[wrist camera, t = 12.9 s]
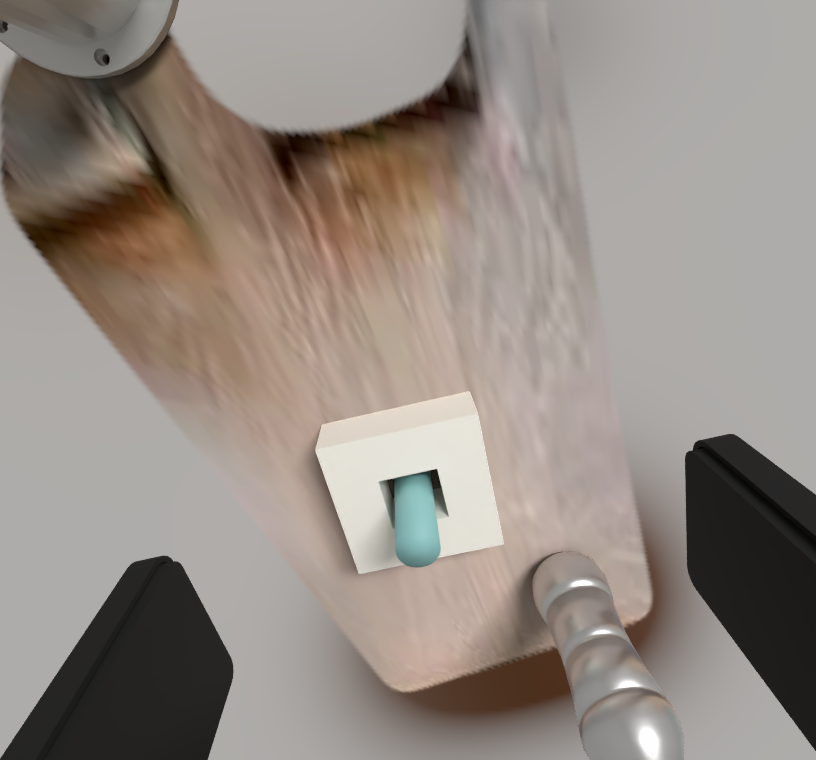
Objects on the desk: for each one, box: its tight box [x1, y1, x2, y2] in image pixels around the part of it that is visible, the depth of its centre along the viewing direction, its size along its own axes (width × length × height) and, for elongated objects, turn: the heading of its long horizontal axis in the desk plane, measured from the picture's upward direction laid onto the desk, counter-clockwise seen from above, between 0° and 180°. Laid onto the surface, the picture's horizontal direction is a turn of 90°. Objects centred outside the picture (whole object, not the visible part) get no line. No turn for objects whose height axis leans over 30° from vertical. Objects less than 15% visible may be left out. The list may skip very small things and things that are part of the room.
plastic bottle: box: [532, 551, 684, 760], centre depth 37 cm, size 6×7×20 cm
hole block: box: [315, 391, 504, 574], centre depth 40 cm, size 12×12×4 cm
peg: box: [394, 470, 441, 567], centre depth 37 cm, size 3×3×10 cm
